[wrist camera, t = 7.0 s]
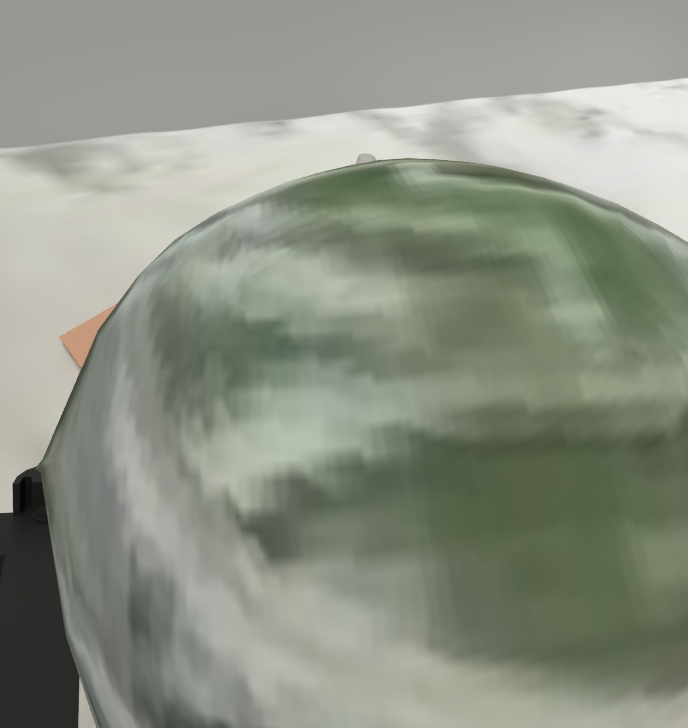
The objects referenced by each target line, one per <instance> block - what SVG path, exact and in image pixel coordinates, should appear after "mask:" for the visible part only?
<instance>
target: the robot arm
mask: <svg viewBox="0 0 688 728" xmlns="http://www.w3.org/2000/svg"><path fill="white" fill-rule="evenodd" d="M35 468H36V467H34V468H31V469H28V470H26V471H24V472H23V473H22V474H20V475H19V476H17V478H16V479H15V481H14V483H13V513H0V728H78V712H79V673H78V670H77V667H76V664H75V661H74V658H73V655H72V652H71V649H70V646H69V643H68V640H67V637H66V633H65V626H64V620H63V613H62V607H61V601H60V594H59V588H58V581H57V575H56V568H55V562H54V555H53V549H52V543H51V536H50V530H49V523H48V517H47V510H46V504H45V498H44V491H43V485H42V478H41V473H40V472H39V471H37V470H36V469H35Z"/></svg>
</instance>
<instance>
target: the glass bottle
mask: <svg viewBox="0 0 688 728" xmlns="http://www.w3.org/2000/svg"><path fill="white" fill-rule="evenodd" d="M35 469H36V470H37V471H39V472H40V473H41V478H42V485H43V491H44V498H45V504H46V510H47V517H48V523H49V530H50V536H51V543H52V549H53V555H54V562H55V568H56V575H57V581H58V588H59V594H60V601H61V607H62V613H63V620H64V626H65V633H66V637H67V640H68V643H69V646H70V649H71V652H72V655H73V658H74V661H75V664H76V667H77V670H78V673H79V676H80V679H81V682H82V685H83V688H84V691H85V694H86V697H87V700H88V703H89V706H90V709H91V712H92V715H93V718H94V721H95V724H96V727H97V728H688V242H686V241H685V240H683V239H681V238H680V237H678V236H676V235H674V234H673V233H671V232H669V231H668V230H666V229H664V228H663V227H661V226H659V225H657V224H656V223H654V222H652V221H650V220H648V219H646V218H644V217H642V216H640V215H638V214H636V213H634V212H632V211H630V210H628V209H626V208H624V207H622V206H620V205H618V204H616V203H613V202H611V201H608V200H605V199H603V198H600V197H598V196H595V195H592V194H590V193H587V192H584V191H582V190H579V189H576V188H573V187H570V186H567V185H564V184H562V183H558V182H555V181H552V180H549V179H546V178H543V177H539V176H534V175H530V174H526V173H522V172H518V171H514V170H509V169H505V168H501V167H496V166H489V165H483V164H476V163H469V162H459V161H448V160H435V159H411V158H405V159H391V160H377V161H372V162H367V163H361V164H356V165H350V166H346V167H342V168H337V169H333V170H329V171H325V172H321V173H317V174H313V175H310V176H307V177H303V178H300V179H297V180H293V181H290V182H286V183H284V184H281V185H279V186H276V187H274V188H272V189H269V190H267V191H264V192H262V193H259V194H257V195H255V196H252V197H250V198H248V199H246V200H243V201H241V202H239V203H237V204H235V205H232V206H230V207H228V208H226V209H224V210H222V211H219V212H218V213H216V214H214V215H212V216H211V217H209V218H207V219H206V220H204V221H203V222H201V223H200V224H198V225H197V226H195V227H194V228H192V229H191V230H189V231H188V232H186V233H185V234H183V235H182V236H180V237H179V238H177V239H175V240H174V241H173V242H172V243H171V244H170V245H169V246H168V247H167V248H166V249H165V250H164V251H163V252H162V253H161V254H160V255H159V256H158V257H157V258H156V259H155V260H154V261H153V262H152V263H151V264H150V265H149V266H148V267H147V268H146V269H145V270H144V271H143V272H141V273H140V274H139V276H138V277H137V278H136V280H135V281H134V282H133V284H132V285H131V286H130V288H129V289H128V290H127V292H126V293H125V294H124V296H123V297H122V298H121V300H120V301H119V302H118V304H117V305H116V307H115V308H114V309H113V311H112V312H111V313H110V315H109V316H108V317H107V319H106V320H105V321H104V323H103V324H102V325H101V327H100V328H99V329H98V331H97V334H96V336H95V338H94V341H93V343H92V345H91V348H90V350H89V352H88V355H87V357H86V359H85V362H84V364H83V366H82V369H81V371H80V373H79V376H78V378H77V380H76V383H75V385H74V387H73V390H72V392H71V394H70V397H69V399H68V401H67V404H66V406H65V408H64V411H63V413H62V415H61V418H60V420H59V422H58V425H57V427H56V429H55V432H54V434H53V436H52V439H51V441H50V443H49V446H48V448H47V450H46V453H45V455H44V457H43V460H42V461H41V462H40V463H39V465H38V466H37V467H36V468H35Z"/></svg>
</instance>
